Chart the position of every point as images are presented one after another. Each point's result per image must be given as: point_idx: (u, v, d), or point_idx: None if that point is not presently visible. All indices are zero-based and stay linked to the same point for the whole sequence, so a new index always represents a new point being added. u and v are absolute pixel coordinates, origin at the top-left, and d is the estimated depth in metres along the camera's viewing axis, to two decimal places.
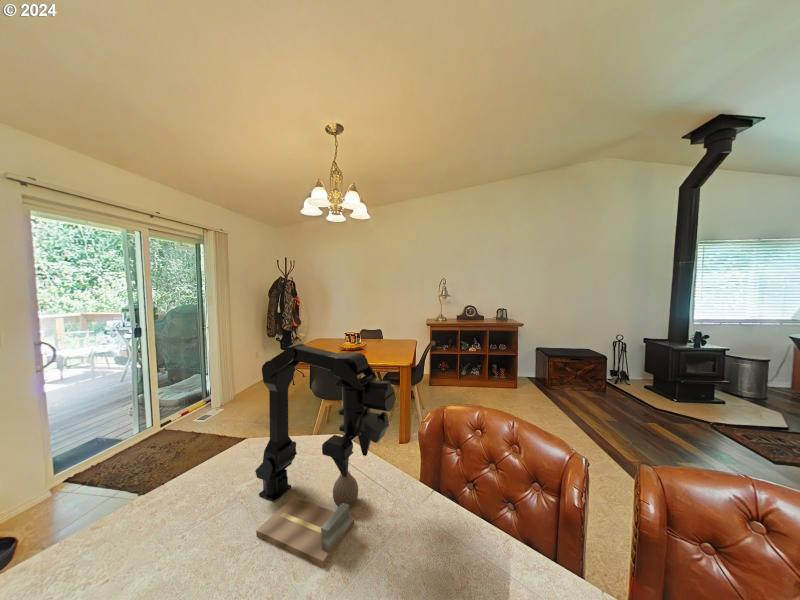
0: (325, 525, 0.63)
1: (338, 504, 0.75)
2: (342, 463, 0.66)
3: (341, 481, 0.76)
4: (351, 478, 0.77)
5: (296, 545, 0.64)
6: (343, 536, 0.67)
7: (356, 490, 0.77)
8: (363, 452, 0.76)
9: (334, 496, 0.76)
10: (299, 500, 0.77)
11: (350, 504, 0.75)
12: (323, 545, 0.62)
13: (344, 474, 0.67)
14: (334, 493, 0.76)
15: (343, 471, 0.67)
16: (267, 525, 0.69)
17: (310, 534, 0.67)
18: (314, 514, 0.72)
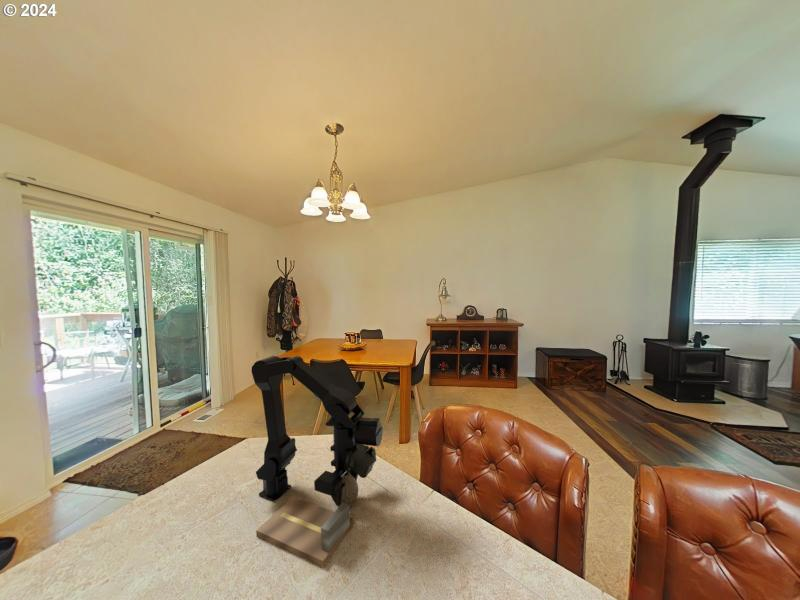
0: (325, 525, 0.63)
1: None
2: (335, 494, 0.73)
3: None
4: (351, 478, 0.77)
5: (296, 545, 0.64)
6: (343, 536, 0.67)
7: (356, 490, 0.77)
8: None
9: None
10: (299, 500, 0.77)
11: (350, 504, 0.75)
12: (323, 545, 0.62)
13: (337, 503, 0.74)
14: None
15: (336, 501, 0.74)
16: (267, 525, 0.69)
17: (310, 534, 0.67)
18: (314, 514, 0.72)
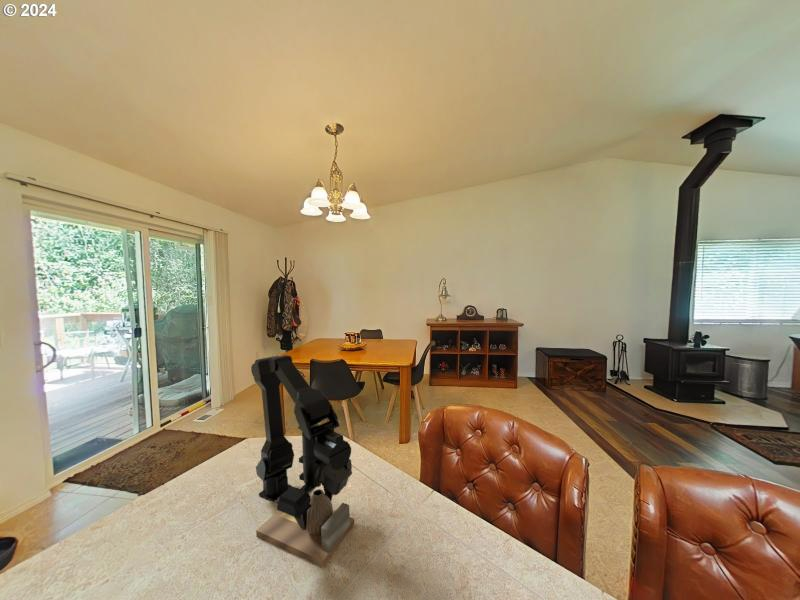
0: (325, 525, 0.63)
1: (309, 530, 0.65)
2: (300, 516, 0.63)
3: (313, 502, 0.66)
4: (325, 498, 0.68)
5: (296, 545, 0.64)
6: (343, 536, 0.67)
7: (330, 512, 0.67)
8: None
9: None
10: None
11: None
12: (323, 545, 0.62)
13: (303, 527, 0.63)
14: None
15: (301, 524, 0.63)
16: (267, 525, 0.69)
17: (310, 534, 0.67)
18: None
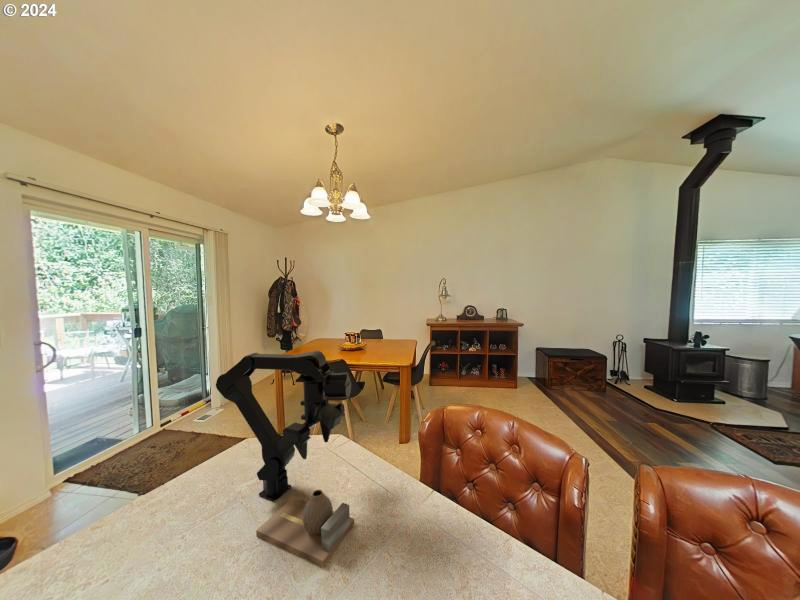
0: (325, 525, 0.63)
1: (309, 530, 0.65)
2: (301, 447, 0.76)
3: (312, 502, 0.66)
4: (324, 499, 0.68)
5: (296, 545, 0.64)
6: (343, 536, 0.67)
7: (330, 512, 0.67)
8: (324, 439, 0.86)
9: (304, 521, 0.66)
10: (299, 500, 0.77)
11: None
12: (323, 545, 0.62)
13: (303, 456, 0.77)
14: (304, 517, 0.66)
15: (302, 454, 0.77)
16: (267, 525, 0.69)
17: (310, 534, 0.67)
18: None
